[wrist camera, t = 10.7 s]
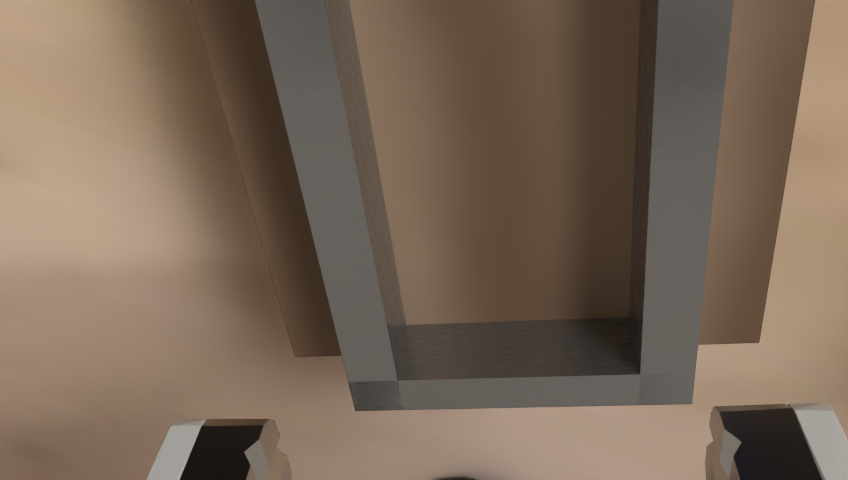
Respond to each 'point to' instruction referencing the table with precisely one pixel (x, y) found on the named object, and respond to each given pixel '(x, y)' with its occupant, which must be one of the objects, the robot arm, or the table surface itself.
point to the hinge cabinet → (513, 186)
